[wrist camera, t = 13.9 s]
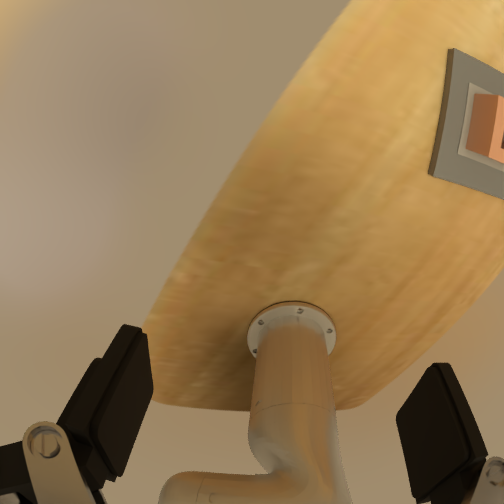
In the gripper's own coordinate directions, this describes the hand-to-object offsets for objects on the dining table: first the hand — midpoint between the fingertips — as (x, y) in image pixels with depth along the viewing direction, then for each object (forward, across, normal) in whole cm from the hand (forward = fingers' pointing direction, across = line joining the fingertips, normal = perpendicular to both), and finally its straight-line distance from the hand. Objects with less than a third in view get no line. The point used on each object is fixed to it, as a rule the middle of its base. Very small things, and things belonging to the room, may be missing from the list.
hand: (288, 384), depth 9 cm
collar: (+27, -24, -12) cm, 38 cm away
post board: (+28, -24, -12) cm, 39 cm away
